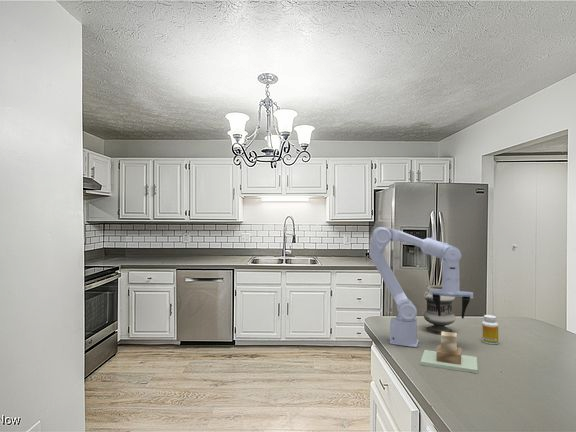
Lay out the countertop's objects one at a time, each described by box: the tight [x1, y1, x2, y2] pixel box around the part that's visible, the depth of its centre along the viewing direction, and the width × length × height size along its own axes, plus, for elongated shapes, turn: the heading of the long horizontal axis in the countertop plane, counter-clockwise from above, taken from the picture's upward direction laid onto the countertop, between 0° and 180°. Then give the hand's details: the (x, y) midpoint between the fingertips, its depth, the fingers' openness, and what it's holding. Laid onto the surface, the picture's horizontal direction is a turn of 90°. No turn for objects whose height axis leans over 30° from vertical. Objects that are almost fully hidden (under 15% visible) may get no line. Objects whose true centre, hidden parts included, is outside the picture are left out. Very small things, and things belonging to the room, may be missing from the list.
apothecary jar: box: [423, 284, 456, 335], centre depth 156 cm, size 12×12×18 cm
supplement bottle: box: [481, 314, 499, 345], centre depth 142 cm, size 5×5×10 cm
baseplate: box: [420, 349, 479, 374], centre depth 122 cm, size 16×12×1 cm
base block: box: [436, 344, 462, 365], centre depth 122 cm, size 7×7×3 cm
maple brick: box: [440, 331, 458, 353], centre depth 122 cm, size 4×4×5 cm
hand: (451, 316), depth 138 cm, fingers open, 7 cm apart
